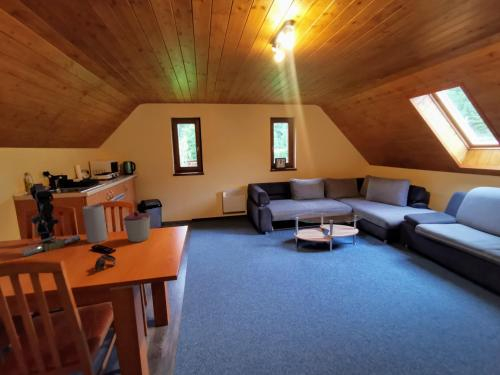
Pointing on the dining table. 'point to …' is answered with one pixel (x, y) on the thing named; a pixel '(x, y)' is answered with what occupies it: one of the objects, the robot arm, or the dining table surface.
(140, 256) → the dining table surface
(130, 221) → the canister
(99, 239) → the cylinder vase
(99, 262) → the dark curved loop
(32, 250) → the valve
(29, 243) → the lever
